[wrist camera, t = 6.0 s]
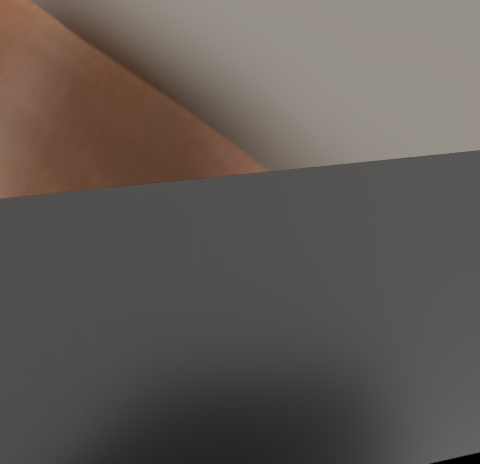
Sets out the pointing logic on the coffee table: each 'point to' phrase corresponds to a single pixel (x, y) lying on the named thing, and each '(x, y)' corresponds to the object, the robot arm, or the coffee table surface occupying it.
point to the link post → (246, 318)
